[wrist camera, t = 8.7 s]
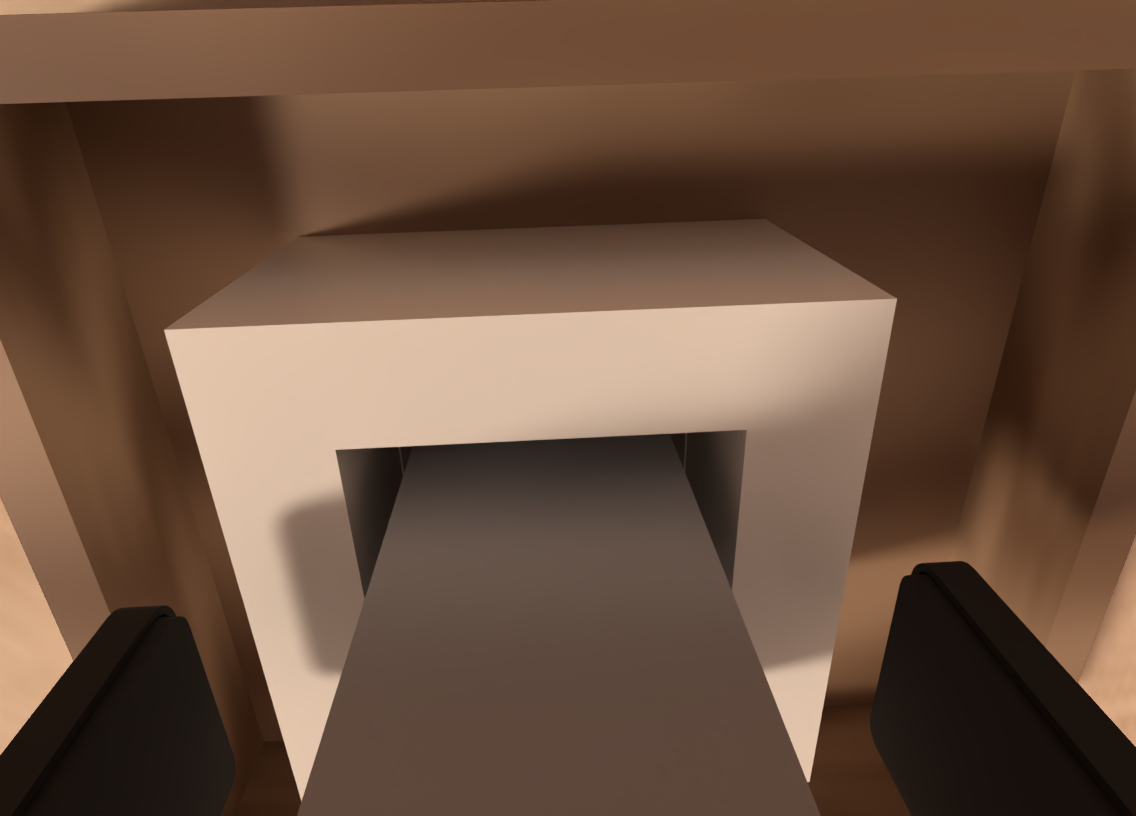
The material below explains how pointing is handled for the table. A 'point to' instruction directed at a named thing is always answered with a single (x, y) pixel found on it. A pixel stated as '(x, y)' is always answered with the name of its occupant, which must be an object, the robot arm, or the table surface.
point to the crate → (582, 198)
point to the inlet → (535, 414)
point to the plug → (552, 649)
